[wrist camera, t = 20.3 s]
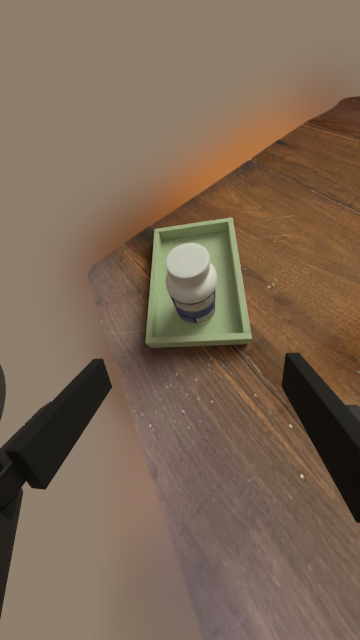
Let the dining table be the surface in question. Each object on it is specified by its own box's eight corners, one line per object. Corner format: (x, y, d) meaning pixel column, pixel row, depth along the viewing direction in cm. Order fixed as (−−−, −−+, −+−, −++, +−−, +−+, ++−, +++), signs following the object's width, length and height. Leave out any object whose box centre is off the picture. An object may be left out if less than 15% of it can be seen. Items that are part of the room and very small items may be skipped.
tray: (248, 344, 22) (251, 338, 20) (150, 348, 24) (145, 343, 22) (231, 229, 30) (232, 217, 27) (158, 239, 32) (154, 229, 29)
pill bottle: (182, 289, 26) (166, 235, 17) (219, 293, 25) (221, 237, 16) (173, 322, 24) (150, 281, 15) (212, 329, 23) (211, 288, 14)
